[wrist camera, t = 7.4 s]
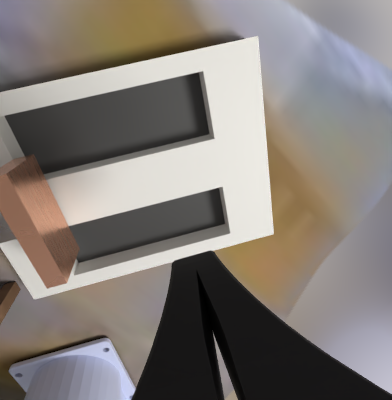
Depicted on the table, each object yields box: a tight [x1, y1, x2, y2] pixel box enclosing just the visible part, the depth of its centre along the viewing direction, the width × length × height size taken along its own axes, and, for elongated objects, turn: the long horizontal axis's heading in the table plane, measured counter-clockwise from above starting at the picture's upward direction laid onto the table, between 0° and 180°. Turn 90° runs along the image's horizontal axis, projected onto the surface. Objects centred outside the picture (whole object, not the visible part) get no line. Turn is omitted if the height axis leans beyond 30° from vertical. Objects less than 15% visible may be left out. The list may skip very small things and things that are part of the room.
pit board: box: [0, 36, 274, 300], centre depth 16 cm, size 12×16×2 cm
